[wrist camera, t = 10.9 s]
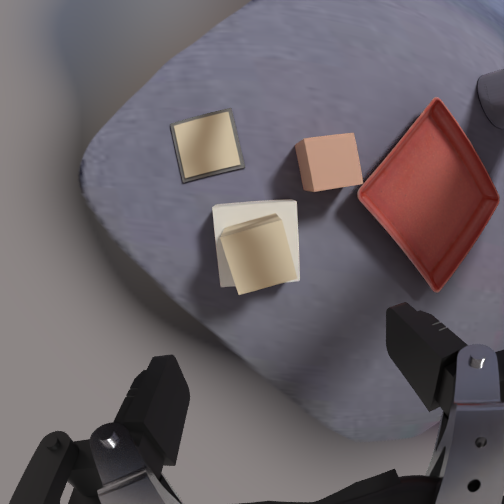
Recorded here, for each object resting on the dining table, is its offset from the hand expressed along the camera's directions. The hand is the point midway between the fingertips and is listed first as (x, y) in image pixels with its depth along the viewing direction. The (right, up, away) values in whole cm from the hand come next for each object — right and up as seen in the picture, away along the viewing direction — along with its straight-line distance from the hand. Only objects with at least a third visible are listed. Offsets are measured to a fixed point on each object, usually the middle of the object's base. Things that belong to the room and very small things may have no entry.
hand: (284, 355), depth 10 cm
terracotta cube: (+6, +13, +20) cm, 24 cm away
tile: (-6, +15, +19) cm, 25 cm away
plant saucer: (+22, +11, +21) cm, 32 cm away
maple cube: (-1, +4, +18) cm, 18 cm away
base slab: (-1, +5, +22) cm, 22 cm away
